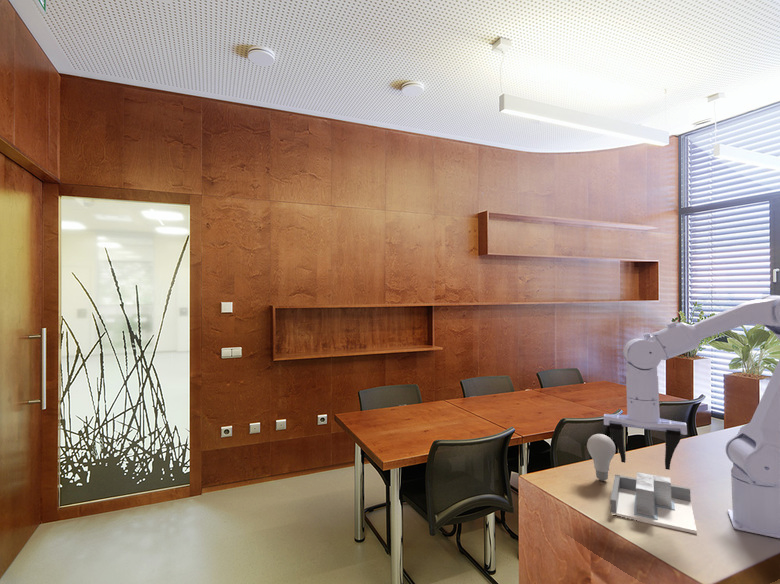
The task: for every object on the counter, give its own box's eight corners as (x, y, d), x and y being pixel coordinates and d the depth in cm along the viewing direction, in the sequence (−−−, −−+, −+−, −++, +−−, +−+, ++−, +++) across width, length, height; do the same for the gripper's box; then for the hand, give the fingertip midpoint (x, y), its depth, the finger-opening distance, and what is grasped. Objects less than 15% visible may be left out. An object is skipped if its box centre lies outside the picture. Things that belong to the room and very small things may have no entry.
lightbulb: (582, 477, 102) (580, 432, 102) (601, 473, 104) (599, 429, 104) (603, 488, 96) (601, 439, 97) (622, 483, 98) (621, 436, 99)
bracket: (673, 521, 80) (672, 495, 80) (636, 513, 83) (635, 488, 83) (671, 502, 87) (670, 477, 88) (637, 495, 91) (636, 472, 91)
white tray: (690, 502, 89) (689, 487, 89) (696, 534, 77) (696, 517, 77) (615, 488, 96) (615, 474, 96) (610, 515, 84) (610, 499, 84)
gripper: (684, 397, 86) (686, 464, 85) (604, 390, 93) (606, 452, 93) (686, 404, 80) (689, 476, 79) (601, 397, 87) (604, 462, 87)
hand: (644, 464), depth 86 cm, fingers open, 7 cm apart
